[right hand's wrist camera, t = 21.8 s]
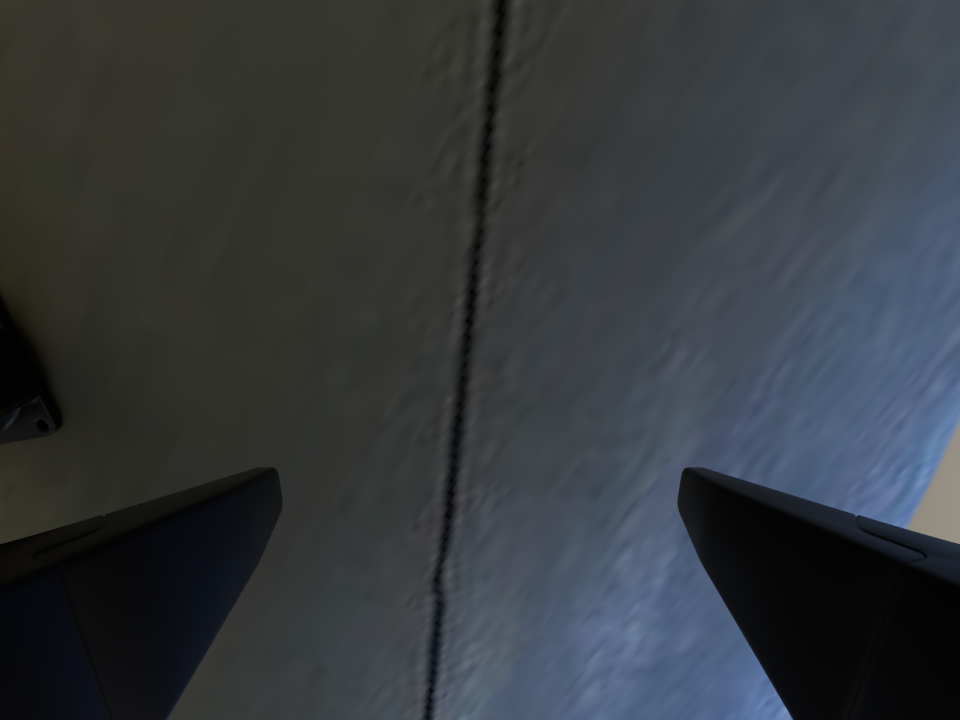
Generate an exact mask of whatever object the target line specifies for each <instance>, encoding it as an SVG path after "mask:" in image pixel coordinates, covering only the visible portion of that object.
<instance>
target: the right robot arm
mask: <svg viewBox="0 0 960 720" xmlns="http://www.w3.org/2000/svg"><path fill="white" fill-rule="evenodd" d="M44 421H46V422H47V424H48V425H47V424H45V422H44ZM61 427H62V421H61V418H60V416H59V414H58V412H57V410H56V408H55V407H54V405H53V403H52V401H51V399H50V397H49V395H48V393H47V391H46V389H45V388H44V386H43V384H42V382H41V380H40V378H39V376H38V374H37V372H36V370H35V368H34V367H33V365H32V363H31V361H30V359H29V357H28V355H27V353H26V351H25V349H24V347H23V346H22V344H21V342H20V340H19V338H18V336H17V334H16V332H15V330H14V328H13V326H12V325H11V323H10V321H9V319H8V317H7V315H6V313H5V311H4V309H3V307H2V305H1V304H0V444H4V443H10V442H15V441H21V440H27V439H32V438H38V437H44V436H49V435H51V434H53V433H54V432H56V431H58V430H59V429H60V428H61ZM281 509H282V494H281V488H280V481H279V475H278V472H277V470H276V469H275V468H272V467H267V468H255V469H251V470H248V471H245V472H242V473H238V474H235V475H232V476H229V477H225V478H222V479H219V480H216V481H212V482H209V483H206V484H203V485H200V486H196V487H193V488H190V489H187V490H183V491H180V492H177V493H174V494H170V495H167V496H164V497H161V498H157V499H154V500H151V501H148V502H144V503H141V504H138V505H135V506H131V507H128V508H125V509H122V510H118V511H115V512H112V513H109V514H106V515H105V516H102V515H100V516H97V517H93V518H90V519H87V520H84V521H80V522H77V523H73V524H70V525H67V526H63V527H60V528H57V529H53V530H50V531H46V532H43V533H39V534H36V535H32V536H29V537H25V538H21V539H18V540H14V541H11V542H7V543H3V544H0V720H167V719H168V717H169V715H170V713H171V712H172V710H173V708H174V707H175V705H176V703H177V702H178V700H179V698H180V696H181V695H182V693H183V691H184V690H185V688H186V686H187V684H188V683H189V681H190V679H191V678H192V676H193V674H194V673H195V671H196V669H197V667H198V666H199V664H200V662H201V661H202V659H203V657H204V655H205V654H206V652H207V650H208V649H209V647H210V645H211V644H212V642H213V640H214V638H215V637H216V635H217V633H218V632H219V630H220V628H221V626H222V625H223V623H224V621H225V620H226V618H227V616H228V615H229V613H230V611H231V609H232V608H233V606H234V604H235V603H236V601H237V599H238V597H239V596H240V594H241V592H242V591H243V589H244V587H245V585H246V584H247V582H248V580H249V579H250V577H251V575H252V574H253V572H254V570H255V568H256V566H257V565H258V563H259V561H260V559H261V557H262V555H263V552H264V550H265V548H266V545H267V543H268V541H269V538H270V536H271V534H272V531H273V529H274V527H275V524H276V522H277V520H278V517H279V515H280V513H281ZM678 509H679V513H680V515H681V517H682V520H683V522H684V524H685V527H686V529H687V531H688V534H689V536H690V538H691V541H692V543H693V545H694V548H695V550H696V552H697V555H698V557H699V559H700V561H701V563H702V565H703V566H704V568H705V570H706V572H707V574H708V575H709V577H710V579H711V580H712V582H713V584H714V585H715V587H716V589H717V591H718V592H719V594H720V596H721V597H722V599H723V601H724V603H725V604H726V606H727V608H728V609H729V611H730V613H731V615H732V616H733V618H734V620H735V621H736V623H737V625H738V626H739V628H740V630H741V632H742V633H743V635H744V637H745V638H746V640H747V642H748V644H749V645H750V647H751V649H752V650H753V652H754V654H755V655H756V657H757V659H758V661H759V662H760V664H761V666H762V667H763V669H764V671H765V673H766V674H767V676H768V678H769V679H770V681H771V683H772V684H773V686H774V688H775V690H776V691H777V693H778V695H779V696H780V698H781V700H782V702H783V703H784V705H785V707H786V708H787V710H788V712H789V713H790V715H791V717H792V719H793V720H960V544H957V543H953V542H949V541H946V540H942V539H938V538H935V537H931V536H928V535H924V534H921V533H917V532H913V531H910V530H907V529H903V528H900V527H897V526H893V525H890V524H887V523H883V522H880V521H876V520H873V519H870V518H867V517H863V516H860V515H858V516H855V515H854V514H851V513H848V512H845V511H842V510H838V509H835V508H832V507H829V506H825V505H822V504H819V503H816V502H812V501H809V500H806V499H803V498H799V497H796V496H793V495H790V494H786V493H783V492H780V491H777V490H773V489H770V488H767V487H764V486H760V485H757V484H754V483H751V482H748V481H744V480H741V479H738V478H735V477H731V476H728V475H725V474H722V473H718V472H715V471H712V470H709V469H705V468H693V467H688V468H685V469H684V470H683V472H682V475H681V481H680V488H679V494H678Z"/></svg>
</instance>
